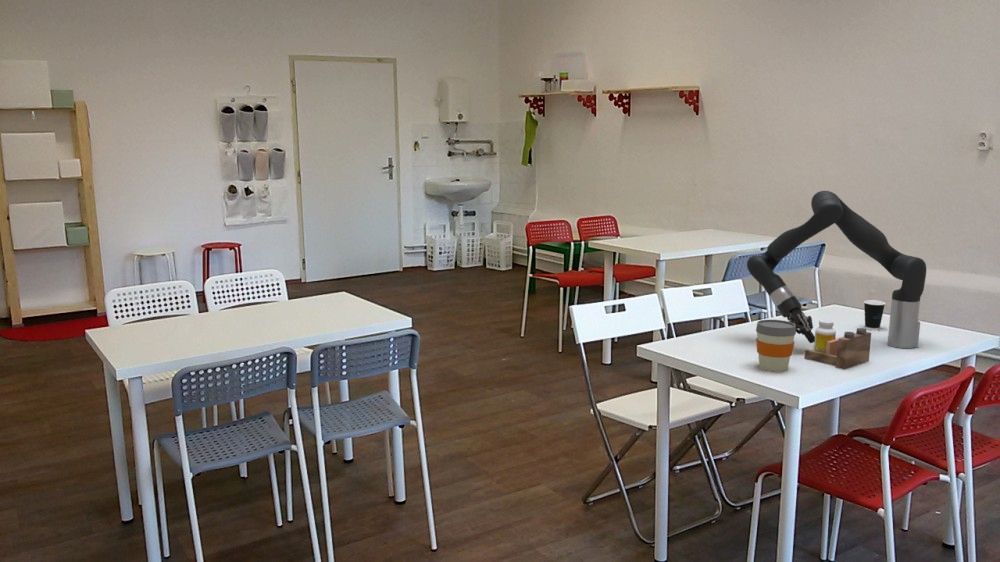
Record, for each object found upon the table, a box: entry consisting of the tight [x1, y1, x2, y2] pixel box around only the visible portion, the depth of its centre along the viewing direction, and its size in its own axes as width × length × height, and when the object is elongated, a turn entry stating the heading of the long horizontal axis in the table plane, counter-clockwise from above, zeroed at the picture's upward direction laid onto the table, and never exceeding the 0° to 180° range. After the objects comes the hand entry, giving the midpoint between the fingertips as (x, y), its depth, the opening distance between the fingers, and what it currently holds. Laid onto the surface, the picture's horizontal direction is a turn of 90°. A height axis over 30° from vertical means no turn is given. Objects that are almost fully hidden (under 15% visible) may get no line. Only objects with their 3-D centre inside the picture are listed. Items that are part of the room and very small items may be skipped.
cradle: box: [804, 327, 872, 370], centre depth 277 cm, size 16×16×12 cm
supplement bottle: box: [813, 319, 837, 354], centre depth 281 cm, size 7×7×13 cm
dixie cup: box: [863, 299, 886, 332], centre depth 321 cm, size 8×8×11 cm
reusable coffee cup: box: [755, 319, 797, 372], centre depth 268 cm, size 13×13×15 cm
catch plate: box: [826, 338, 838, 356], centre depth 278 cm, size 1×9×6 cm, turn 129°
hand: (813, 341), depth 284 cm, fingers closed
